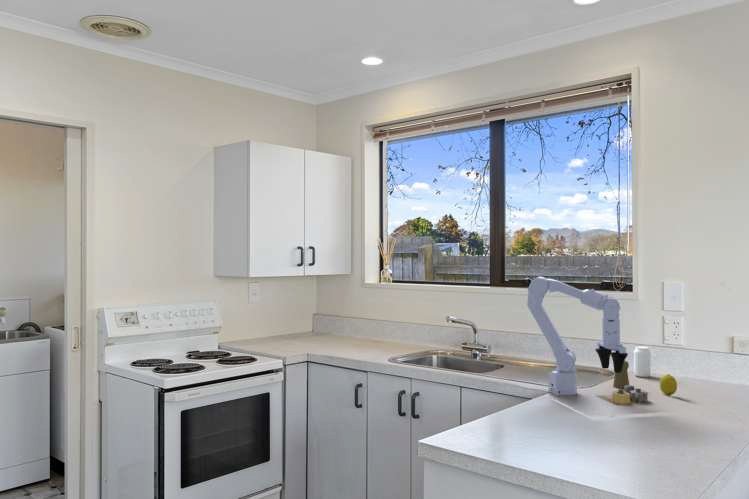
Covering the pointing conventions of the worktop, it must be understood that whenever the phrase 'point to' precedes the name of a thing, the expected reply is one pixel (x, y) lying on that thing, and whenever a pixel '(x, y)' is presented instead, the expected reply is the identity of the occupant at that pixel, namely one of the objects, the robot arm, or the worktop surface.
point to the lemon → (668, 385)
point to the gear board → (635, 396)
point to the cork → (621, 377)
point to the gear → (621, 397)
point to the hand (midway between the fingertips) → (611, 370)
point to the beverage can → (642, 361)
